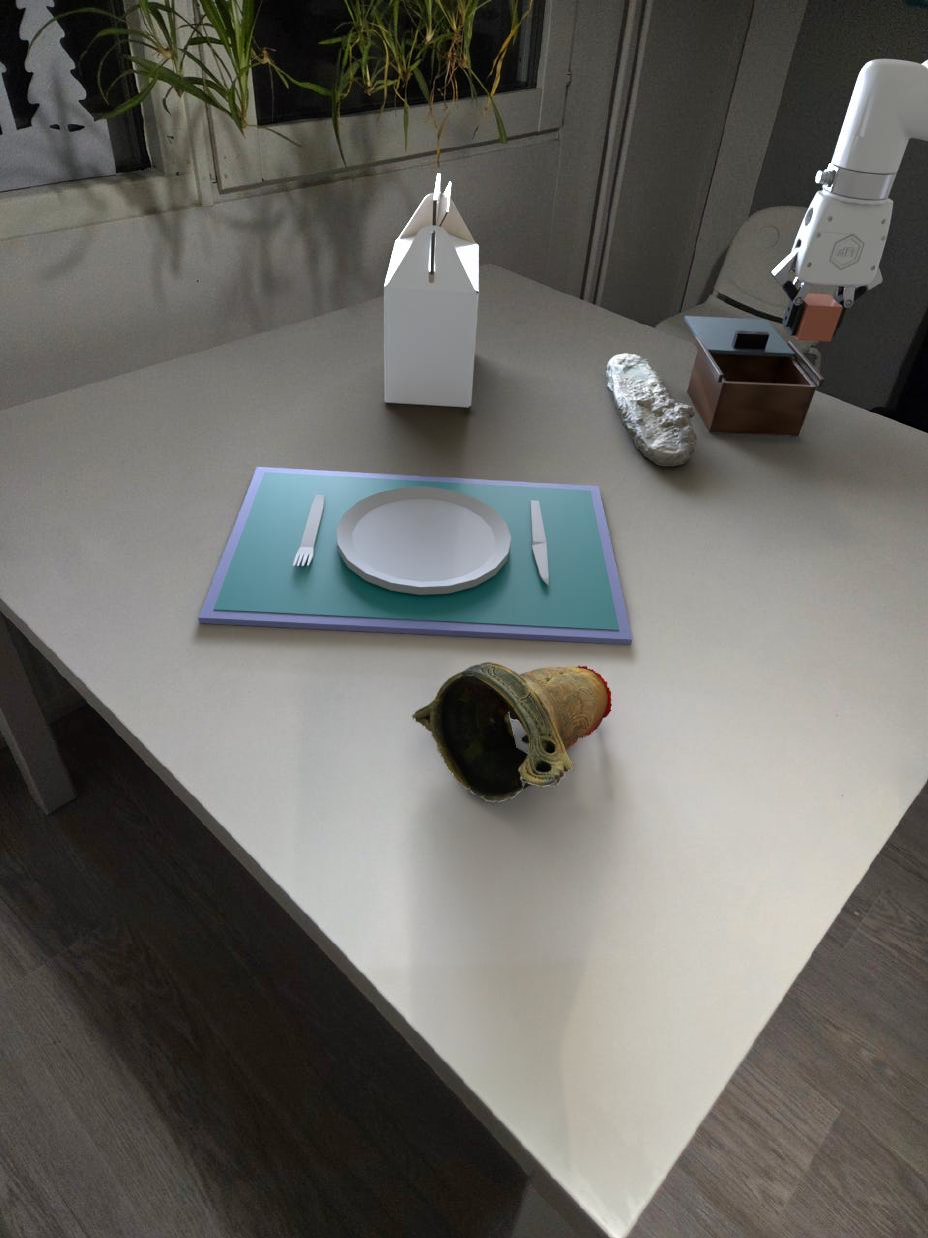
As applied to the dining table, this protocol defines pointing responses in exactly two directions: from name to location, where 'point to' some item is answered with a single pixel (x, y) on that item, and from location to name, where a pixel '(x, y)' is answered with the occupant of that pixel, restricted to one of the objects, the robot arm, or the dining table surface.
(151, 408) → the dining table surface
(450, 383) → the gable box
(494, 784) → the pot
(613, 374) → the elongated rock
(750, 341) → the knobbed box lid
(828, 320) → the block
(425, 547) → the place mat
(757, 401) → the brown storage box
